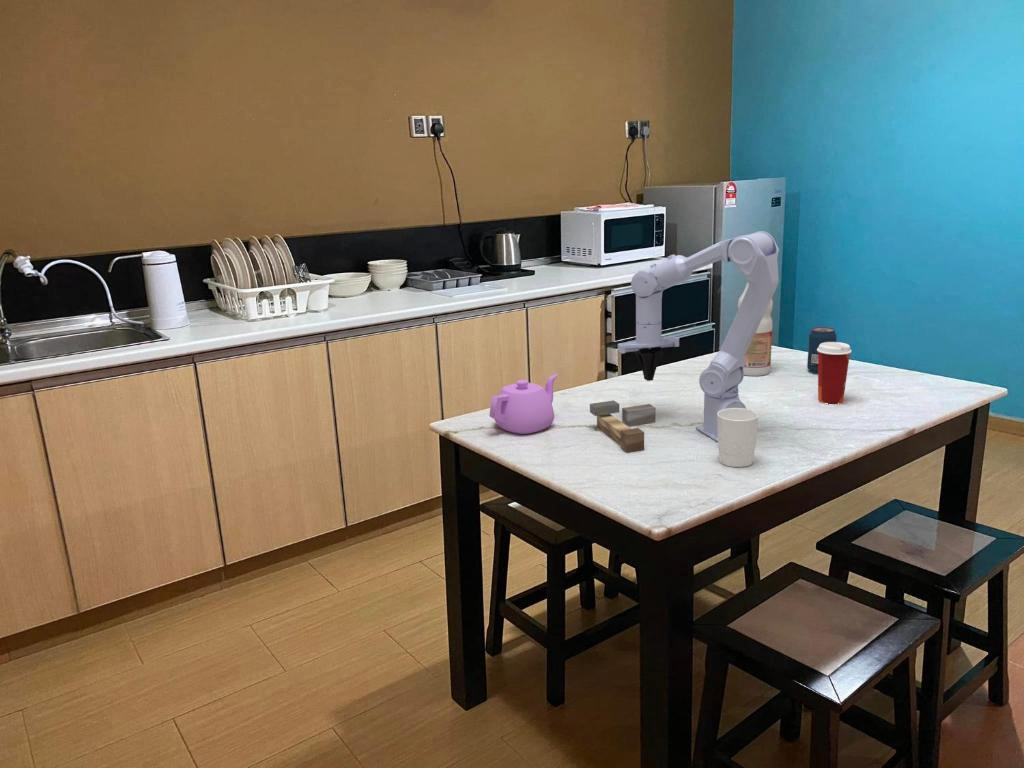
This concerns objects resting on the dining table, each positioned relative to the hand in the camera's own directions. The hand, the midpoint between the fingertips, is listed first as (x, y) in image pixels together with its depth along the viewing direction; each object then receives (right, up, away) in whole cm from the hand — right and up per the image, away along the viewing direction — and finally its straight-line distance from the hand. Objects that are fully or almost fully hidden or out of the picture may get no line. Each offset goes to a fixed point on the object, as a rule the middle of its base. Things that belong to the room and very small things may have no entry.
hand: (648, 379), depth 183 cm
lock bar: (-11, -7, -3) cm, 13 cm away
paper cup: (+46, -5, +8) cm, 47 cm away
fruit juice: (+35, +2, +35) cm, 50 cm away
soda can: (+53, +2, +32) cm, 62 cm away
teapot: (-28, -11, +2) cm, 30 cm away
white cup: (+13, -17, -25) cm, 33 cm away
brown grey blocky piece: (-4, -12, -8) cm, 15 cm away
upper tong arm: (-9, -11, -8) cm, 16 cm away
